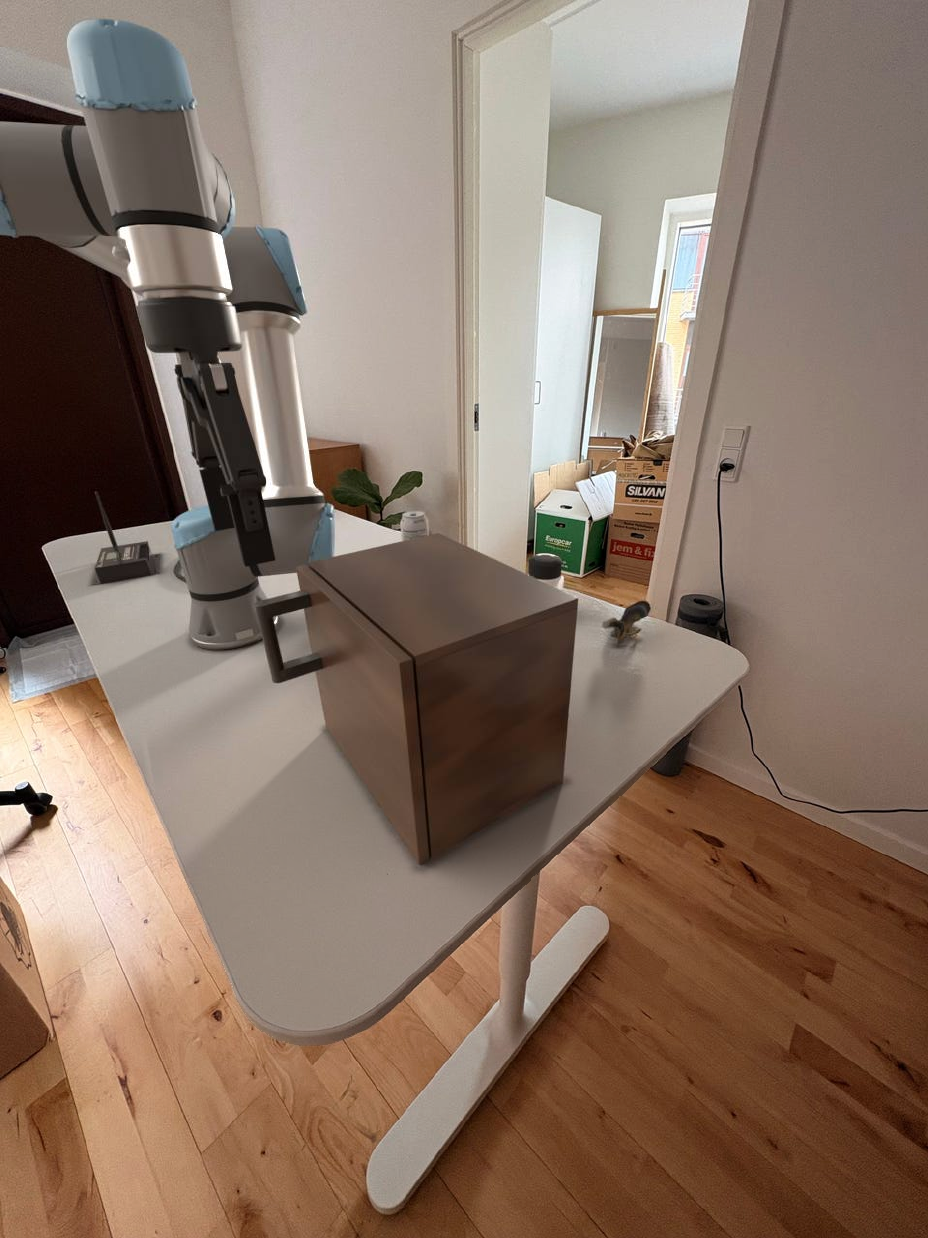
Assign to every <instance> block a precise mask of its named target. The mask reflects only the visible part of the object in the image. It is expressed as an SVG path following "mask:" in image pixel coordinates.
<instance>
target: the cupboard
mask: <svg viewBox="0 0 928 1238" xmlns="http://www.w3.org/2000/svg"><path fill="white" fill-rule="evenodd" d="M308 567H309V568H310V569H311V570H312V571H313V572H315V573H316V574H317V575H318V576H319V577H320V578H321V579H323V580H324V581H325V582H326V583H327V584H328V585H329V586H330V587H332V588H333V589H334V590H335V591H336V592H337V593H338V594H340V595H341V596H342V597H343V598H344V599H345V600H346V601H347V602H349V603H350V604H351V605H352V606H353V607H354V608H355V609H357V610H358V611H359V612H360V613H361V614H362V615H363V616H364V617H366V618H367V619H368V620H369V621H370V622H371V623H372V624H374V625H375V626H376V627H377V628H378V629H379V630H380V631H381V632H383V633H384V634H385V635H386V636H387V637H388V638H389V639H391V640H392V641H393V642H394V643H395V644H396V645H397V646H398V647H400V648H401V649H402V650H403V651H404V652H405V653H406V654H408V655H409V656H410V657H411V658H412V660H413V672H414V683H415V695H416V707H417V719H418V731H419V742H420V754H421V766H422V778H423V790H424V801H425V813H426V825H427V837H428V849H429V858H431V859H434V858H435V857H437V856H439V855H441V854H442V853H444V852H446V851H447V850H449V849H451V848H452V847H454V846H456V845H458V844H459V843H461V842H463V841H465V840H466V839H468V838H470V837H471V836H473V835H475V834H476V833H478V832H480V831H482V830H484V829H485V828H487V827H489V826H490V825H492V824H494V823H495V822H497V821H499V820H501V819H502V818H504V817H505V816H508V815H510V814H511V813H512V812H514V811H516V810H518V809H520V808H521V807H523V806H525V805H526V804H528V803H530V802H532V801H533V800H535V799H537V798H538V797H540V796H541V795H544V794H545V793H547V792H549V791H550V790H553V789H554V788H556V787H557V786H559V785H561V784H563V782H564V777H565V776H564V774H565V764H566V763H565V761H566V751H567V740H568V739H567V738H568V726H569V716H570V715H569V714H570V704H571V691H572V681H573V680H572V679H573V667H574V655H575V645H576V631H577V621H578V620H577V619H578V608H579V597H576V596H574V595H572V594H571V593H568V592H566V591H564V590H563V591H562V590H559V589H557V588H555V587H553V586H551V585H549V584H547V583H544V582H542V581H540V580H538V579H536V578H534V577H532V576H529V575H527V574H528V573H525V572H523V571H521V570H519V569H516V568H514V567H512V566H510V565H508V564H506V563H504V562H502V561H500V560H497V559H495V558H493V557H491V556H489V555H486V554H485V553H482V552H481V551H478V550H476V549H473V548H471V547H469V546H467V545H465V544H463V543H461V542H459V541H457V540H454V539H452V538H450V537H448V536H445V535H444V534H442V533H439V532H437V533H433V534H429V535H427V536H423V537H419V538H414V539H410V540H405V541H402V540H401V541H397V542H392V543H388V544H383V545H380V546H379V545H378V546H375V547H371V548H365V549H361V550H358V551H353V552H349V553H344V554H340V555H336V556H335V555H334V557H330V558H326V559H322V560H317V561H313V562H308Z"/></svg>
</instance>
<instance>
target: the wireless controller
mask: <svg viewBox="0 0 928 1238" xmlns="http://www.w3.org/2000/svg"><path fill="white" fill-rule="evenodd" d="M94 495H95V497H96V500H97V504H98V506H99V509H100V513H101V517H102V519H103V524H104V526H105V529H106V531H107V535H108V538H109V540H110V543H111V546H108V547H107V546H106V547H101V548H100V551H99V554H98V557H97V559H96V563H95V565H94V570H95V573H94V576H93V579H92V582H91V585H92V586H95V585H103V584H107V583H113V582H119V581H123V580H129V579H136V578H141V577H146V576H152V575H153V576H154V575H157V574H160V573H161V572H160V570H161V569H160V566H161V563H160V561H161V554H160V553H155V554H153V553H152V550H151V547H150V543H149V541H148V540H146V541H140V542H133V543H128V544H127V543H126V544H119V545H118V543H117V540H116V537H115V535H114V531H113V528H112V525H111V523H110V521H109V518H108V516H107V514H106V511H105V509H104V507H103V504H102V501H101V499H100V496H99V492H98V491H95V492H94Z"/></svg>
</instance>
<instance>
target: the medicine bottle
mask: <svg viewBox="0 0 928 1238" xmlns="http://www.w3.org/2000/svg"><path fill="white" fill-rule="evenodd" d="M562 566H563V560H562V558H560V556H558V555H555V554H552V553H538V554H534V555H532V556H531V557H530V558H529V559H528V568H527V569H528V570H527V571H528V572H527V573H526V574H527V575H529V576H532V577H534V578H536V579H538V580H540V581H542V582H544V583H547V584H549V585H551V586H553V587H555V588H557V589H559V590H562V591H564V584H565V577H564V575H562Z"/></svg>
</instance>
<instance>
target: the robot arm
mask: <svg viewBox="0 0 928 1238" xmlns="http://www.w3.org/2000/svg"><path fill="white" fill-rule="evenodd" d="M66 48H67V49H66V50H67V55H68V58H69V63H70V68H71V73H72V78H73V83H74V89H75V100H76V102H77V104H78V105H79V106H80V109H81V112H82V115H83V119H84V123H85V125H73V124H72V125H71V124H52V123H33V122H16V121H0V236H10V237H12V238H19V237H24V236H26V237H27V236H28V237H29V236H30V237H38V238H40V239H42V240H44V241H46V242H49V243H51V244H53V245H56V246H58V247H59V248H62V249H64V250H66V251H67V252H70V253H71V254H73V255H75V256H77V257H79V258H81V259H83V260H85V261H87V262H88V263H91V264H93V265H95V266H97V267H99V268H101V269H103V270H105V271H107V272H109V273H111V274H113V275H114V276H115V275H116V277H119V278H120V279H121V280H122V282H123V283H124V284H125V285H126V287H128V288H129V289H130V290H131V291H133V292H134V293H135V294H136V295H138V296H140V297H142V299H143V300H139V301H137V305H135V309H136V313H137V317H138V320H139V324H140V328H141V332H142V334H143V335H142V336H143V338H144V342H145V345H146V348H147V349H148V350H149V351H150V352H152V353H155V354H178V355H179V359H180V360H179V361H180V363H179V364H176V363H175V364H174V369H173V371H174V374H175V375H176V383H177V384H176V385H177V388H178V391H179V393H180V396H181V401H182V406H183V411H184V416H185V422H186V427H187V432H188V437H189V442H190V447H191V451H190V453H191V456H192V457H193V459H194V460H195V464H196V465H197V466H198V468H199V469H198V471H199V475H200V478H201V482H202V487H203V489H204V490H203V491H204V494H205V499H206V503H207V504H206V505H202V506H198V507H195V508H192V509H190V510H186V511H185V512H183V513H181V514H179V515H178V516H176V517H175V518H174V519H173V521H172V523H171V525H170V527H171V533H172V538H173V541H174V545H173V546H174V549H175V551H176V553H177V556H178V561H177V562H176V564H175V565H174V567H173V570H172V571H173V575H174V577H176V578H177V579H179V580H181V581H183V582H185V583H186V586H187V589H188V593H189V596H190V600H191V602H190V615H189V626H188V627H189V628H188V629H189V636H190V638H191V642H192V643H193V644H194V645H195V646H197V647H199V648H201V649H206V650H215V651H217V650H218V651H219V650H231V649H236V648H241V647H245V646H249V645H251V644H254V643H257V642H259V641H261V640H263V639H262V635H261V631H260V626H259V622H258V618H257V614H256V609H255V603H256V602H258V601H261V600H265V599H269V598H268V596H267V595H266V594H265V592H264V590H263V589H262V587H261V584H260V581H259V577H269V576H278V575H279V576H280V575H289V574H297V571H296V567H297V566H301V565H307V566H308V562H313V561H317V560H322V559H326V558H330V557H335V542H336V540H335V539H336V535H335V534H336V533H335V532H336V530H335V529H336V527H335V526H336V525H335V506H334V505H333V504H331V503H329V502H327V503H326V501H325V495H324V493H323V492H322V491H321V490H319V488H317V487H316V486H315V484H314V478H313V472H312V463H311V456H310V449H309V443H308V436H307V428H306V423H305V413H304V408H303V401H302V393H301V387H300V380H299V379H300V378H299V373H298V372H299V371H298V365H297V358H296V352H295V351H296V350H295V344H294V343H295V342H294V337H295V335H296V334H297V333H298V332H299V330H300V329H301V319H300V317H301V316H302V317H303V316H304V315H307V313H309V312H308V306H307V303H306V299H305V295H304V290H303V286H302V283H301V279H300V275H299V271H298V267H297V264H296V259H295V256H294V251H293V248H292V244H291V240H290V238H289V236H288V234H287V233H286V232H284V231H283V230H282V229H280V228H276V227H275V228H274V227H262V226H259V225H254V226H234V223H235V218H236V199H235V197H234V193H233V190H232V188H231V184H230V179H229V177H228V174H227V173H226V171H225V168H224V167H223V165H222V163H220V161H219V159H218V157H216V156H215V155H214V153H213V152H212V151H211V148H210V147H209V145H208V142H207V141H206V139H205V137H204V135H203V134H202V131H201V126H200V122H199V117H198V111H197V107H198V102H197V101H198V100H197V98H196V97H195V95H194V93H193V92H194V91H193V88H192V84H191V81H190V75H189V72H188V68H187V64H186V61H185V59H184V57H183V55H182V54H181V52H180V50H179V49H178V48H177V47H176V46H175V45H174V44H173V42H171V41H170V40H168V39H167V38H166V37H164V35H161V34H160V33H159V32H157V31H155V30H153V29H151V28H148V27H146V26H143V25H141V24H138V23H134V22H130V21H127V20H122V19H111V18H92V19H86V20H82V21H80V22H78V23H77V24H75V25H73V27H72V28H71V29H70V30H69V32H68V35H67V37H66ZM238 351H239V354H240V360H241V365H242V373H243V378H244V384H245V390H246V396H247V402H248V409H249V414H250V422H251V426H252V431H251V427H250V425H249V421H248V419H247V418H248V417H247V415H246V412H245V408H244V404H243V402H242V398H241V395H240V391H239V387H238V384H237V383H238V382H237V379H236V369H235V367H233V364H232V362H222V360H221V358H220V355H219V353H230V352H238ZM252 433H253V435H252ZM180 567H181V569H182V573H183V575H181V574H180V573H179V568H180ZM273 619H274V623H275V628H276V629H277V628H278V625H279V618H278V616H275V617H273Z"/></svg>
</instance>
